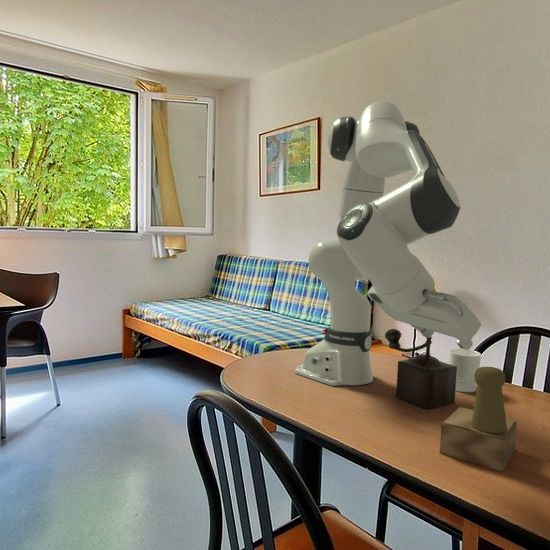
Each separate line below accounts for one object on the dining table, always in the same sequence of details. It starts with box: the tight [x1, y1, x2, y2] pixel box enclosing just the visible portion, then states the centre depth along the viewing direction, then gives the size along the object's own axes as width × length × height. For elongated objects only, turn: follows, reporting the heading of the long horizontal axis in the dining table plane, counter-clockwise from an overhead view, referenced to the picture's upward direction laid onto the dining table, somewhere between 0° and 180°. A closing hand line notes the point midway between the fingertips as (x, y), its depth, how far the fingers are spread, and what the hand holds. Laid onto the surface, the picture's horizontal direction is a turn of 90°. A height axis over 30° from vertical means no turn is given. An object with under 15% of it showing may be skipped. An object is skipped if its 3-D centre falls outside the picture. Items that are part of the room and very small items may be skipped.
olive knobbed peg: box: [471, 366, 507, 433], centre depth 87 cm, size 6×6×11 cm
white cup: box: [448, 348, 482, 393], centre depth 128 cm, size 8×8×10 cm
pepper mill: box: [384, 328, 457, 410], centre depth 117 cm, size 16×11×18 cm
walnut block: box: [439, 406, 518, 472], centre depth 91 cm, size 11×11×6 cm
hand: (447, 340), depth 85 cm, fingers open, 8 cm apart
